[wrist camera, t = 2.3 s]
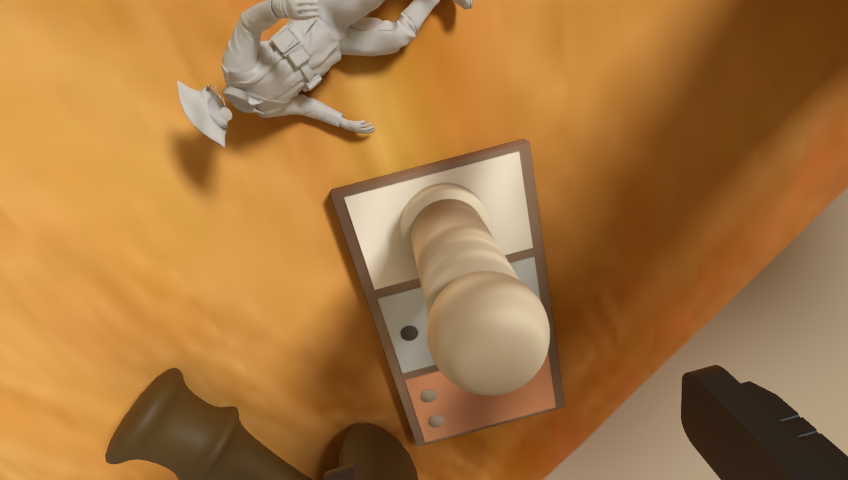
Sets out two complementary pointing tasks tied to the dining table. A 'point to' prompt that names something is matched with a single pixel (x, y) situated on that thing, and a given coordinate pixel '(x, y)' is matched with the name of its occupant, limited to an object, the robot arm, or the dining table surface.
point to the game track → (403, 298)
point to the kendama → (231, 441)
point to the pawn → (472, 294)
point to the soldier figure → (297, 58)
